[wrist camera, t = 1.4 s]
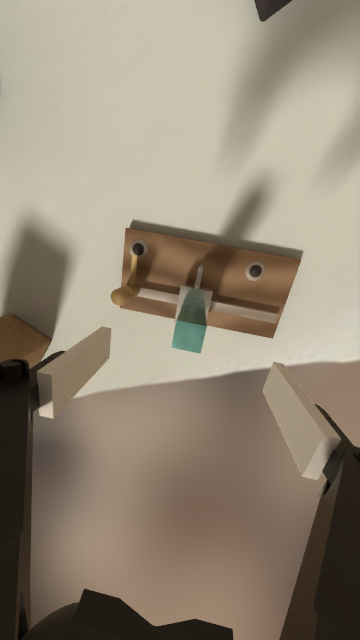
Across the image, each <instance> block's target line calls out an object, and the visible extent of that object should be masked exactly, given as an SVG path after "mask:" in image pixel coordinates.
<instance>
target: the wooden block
mask: <svg viewBox="0 0 360 640" xmlns="http://www.w3.org/2000/svg"><path fill="white" fill-rule="evenodd" d="M50 342H51V340H50V339H49V338H47V337H46V336H44V335H43V334H41V333H40V332H38V331H37V330H35V329H34V328H32V327H31V326H29V325H28V324H26V323H25V322H23V321H22V320H20V319H18V318H17V317H15V316H14V315H12V314H9V315H6V316H2V317H0V362H3V361H5V360H10V359H25V360H27V361H28V363H29V369H30V368H32V367H33V366H35V365H37V364H38V363H39V362H40V361H41V359H42V357H43V355H44V353H45V351H46V349H47V348H48V346H49V344H50Z"/></svg>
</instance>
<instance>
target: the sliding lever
mask: <svg viewBox="0 0 360 640" xmlns="http://www.w3.org/2000/svg"><path fill="white" fill-rule="evenodd" d="M202 273H203V266H202V265H199V267H198V272H197V277H196V282H195V285H190V284H184V283H182V285H181V287H180V293H179V299H178V304H177V310H176V316H175V321H174V322H176V326H175V331H174V337H173V342H172V348H176V349H181V350H186V351H191V352H196V353H201V349H202V344H203V340H204V336H205V332H206V328H207V323H206V320H207V315H208V311H209V307H210V302H211V298H212V294H213V291H212V289H211V288H205V287H200V282H201V277H202Z"/></svg>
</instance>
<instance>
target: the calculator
mask: <svg viewBox="0 0 360 640" xmlns="http://www.w3.org/2000/svg"><path fill="white" fill-rule="evenodd" d="M254 1H255V4H256V8H257V11H258V15H259V18H260V20H261V21H265V20H267V19H268V18H269V17H271V16H272V15H273V14H275V13H276V12H277V11H279V10H280V9H281V8H283V7H284V6H285V5H287V4H288V3H289V2H290V1H292V0H254Z"/></svg>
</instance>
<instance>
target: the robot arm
mask: <svg viewBox="0 0 360 640" xmlns="http://www.w3.org/2000/svg"><path fill="white" fill-rule="evenodd" d="M110 340H111V328H107V327H101V328H99V329H98V330H96V331H95V332H93V333H92V334H91V335H89V336H88V337H86V338H85V339H83V340H82V341H80V342H79V343H77V344H76V345H75V346H73V347H72V348H70V349H69V350H67V351H59V352H56V353H54V354H52V355H50V356H49V357H47V359H44V360H43V361H42V362H40V363H38V364H37V365H35V366H33V367H32V368H30V369H29V363H28V361H27V360H25V359H10V360H5V361H3V362H0V640H233V630H232V629H230V628H227V627H223V626H219V625H216V624H212V623H209V622H205V621H201V620H198V619H192V620H187V621H182V622H177V623H172V624H167V625H163V626H153V625H152V624H150V623H149V622H148V621H147V620H145V619H144V618H143V617H142V616H140V615H139V614H138V613H137V612H136V611H134V610H133V609H132V608H131V607H129V606H128V605H127V604H126V603H125V602H123V601H122V600H121V599H120V598H117V597H113V596H109V595H106V594H102V593H98V592H95V591H91V590H87V589H84V591H83V593H82V596H81V599H80V602H78V603H72V604H70V605H67V606H64V607H62V608H60V609H58V610H56V611H54V612H53V613H51V614H49V615H48V616H47V617H45V618H44V619H42V620H41V621H40V622H38V623H37V624H36V625H35V626H34V627H33V628H31V597H30V559H31V557H30V556H31V507H32V506H31V505H32V454H33V450H32V449H33V412H34V411H35V410H36V409H37V408H38V407H39V413H40V416H45V417H48V418H54V417H55V416H56V415H57V414H58V413H59V412H60V411H61V410H62V409H63V407H64V406H65V405H66V404H67V403H68V402H69V401H70V400H71V399H72V398H73V397H74V396H75V395H76V394H77V392H78V391H79V390H80V389H81V388H82V387H83V386H84V385H85V384H86V383H87V382H88V381H89V379H90V378H91V377H92V376H93V375H94V374H95V373H96V372H97V371H98V370H99V369H100V368H101V366H102V365H103V364H104V363H105V362H106V361H107V360H108V359H109V355H110ZM263 393H264V395H265V397H266V399H267V401H268V403H269V406H270V408H271V410H272V412H273V414H274V417H275V419H276V421H277V423H278V425H279V428H280V430H281V432H282V434H283V436H284V438H285V440H286V443H287V445H288V447H289V449H290V452H291V454H292V456H293V458H294V460H295V462H296V465H297V467H298V469H299V471H300V473H301V475H302V476H303V477H307V478H311V479H315V480H318V478H319V476H320V475H321V473H322V471H323V473H324V475H325V476H326V478H327V481H326V483H325V484H324V486H323V488H322V490H321V491H320V493H319V494H318V496H320V497H321V498H320V501H319V505H318V508H317V512H316V515H315V519H314V522H313V525H312V529H311V533H310V536H309V539H308V543H307V546H306V550H305V553H304V557H303V561H302V563H301V567H300V571H299V574H298V577H297V581H296V584H295V588H294V591H293V595H292V598H291V602H290V605H289V608H288V612H287V615H286V619H285V623H284V626H283V629H282V633H281V636H280V640H360V448H359V447H355V446H353V444H352V443H351V442H350V441H349V440H348V438H347V437H346V436H345V434H344V433H343V432H342V431H341V430H340V429H339V427H338V426H337V425H336V423H335V422H334V421H333V420H332V419H331V417H330V416H329V415H328V414H327V412H326V411H325V410H323V409H322V408H321V407H320V406H318V405H316V404H314V403H313V402H312V400H311V399H310V398H309V397H308V395H307V394H306V393H305V391H304V390H303V389H302V388H301V386H300V385H299V384H298V383H297V381H296V380H295V379H294V377H293V376H292V375H291V373H290V372H289V371H288V370H287V368H286V367H285V366H284V364H281V363H276V362H273V365H272V367H271V370H270V373H269V375H268V378H267V381H266V383H265V386H264V389H263Z"/></svg>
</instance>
